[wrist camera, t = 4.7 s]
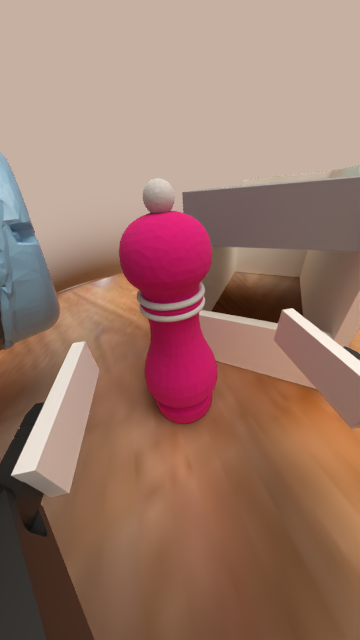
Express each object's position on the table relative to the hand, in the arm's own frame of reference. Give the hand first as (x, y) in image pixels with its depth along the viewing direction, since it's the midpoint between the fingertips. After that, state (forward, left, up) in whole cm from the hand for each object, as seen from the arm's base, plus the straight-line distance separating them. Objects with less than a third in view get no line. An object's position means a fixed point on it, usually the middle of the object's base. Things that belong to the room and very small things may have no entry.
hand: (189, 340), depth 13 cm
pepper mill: (-2, +2, -11) cm, 11 cm away
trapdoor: (+3, +20, +4) cm, 21 cm away
